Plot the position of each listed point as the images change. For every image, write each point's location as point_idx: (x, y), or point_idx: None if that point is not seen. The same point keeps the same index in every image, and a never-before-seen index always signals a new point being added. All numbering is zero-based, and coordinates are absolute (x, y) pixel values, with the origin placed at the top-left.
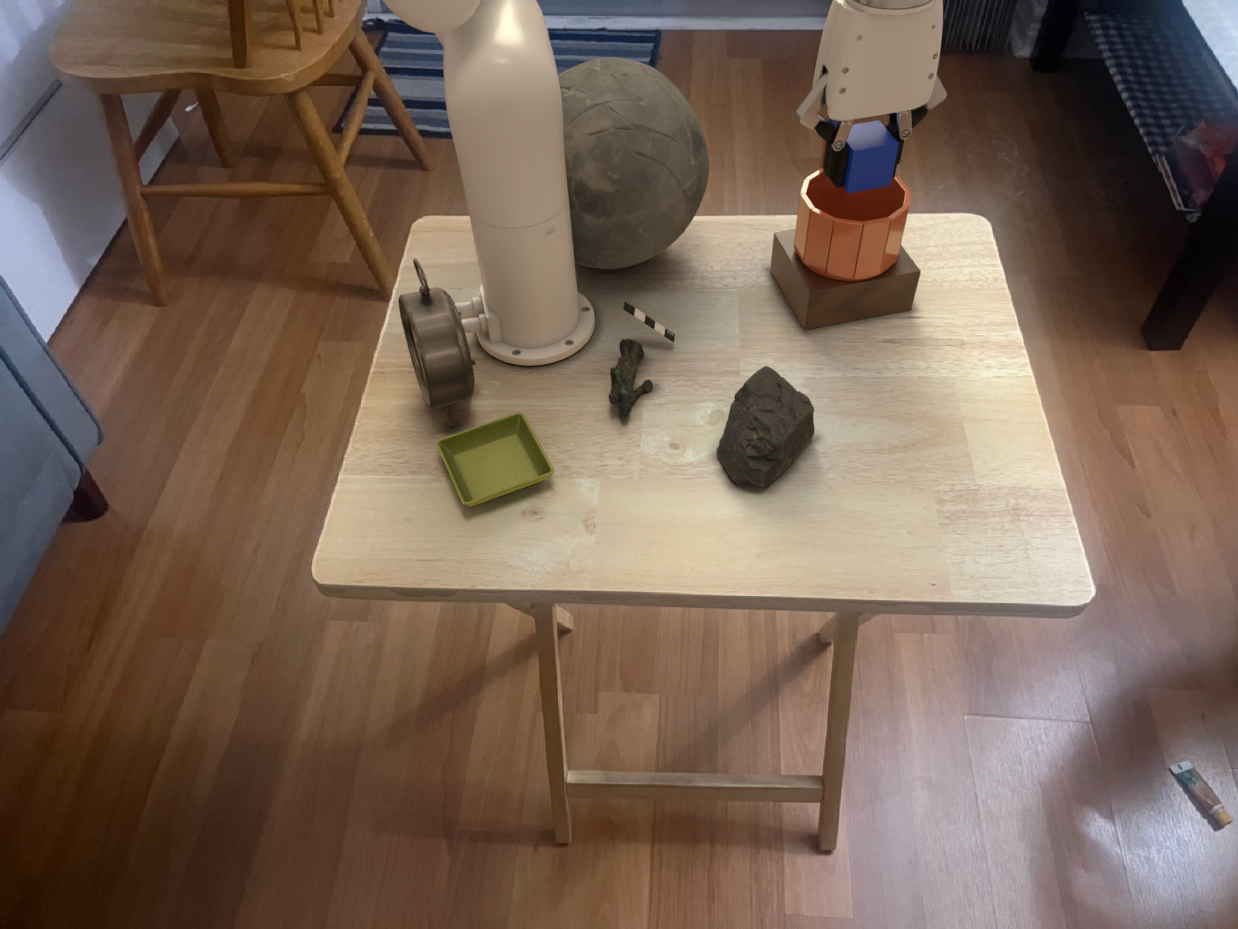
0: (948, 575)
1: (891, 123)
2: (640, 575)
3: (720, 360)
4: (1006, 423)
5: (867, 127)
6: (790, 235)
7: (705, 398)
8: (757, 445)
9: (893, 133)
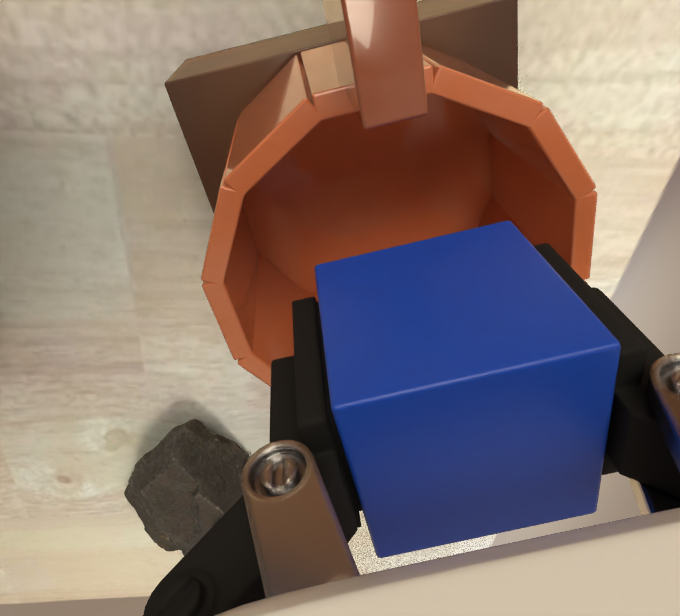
0: (369, 570)
1: (650, 437)
2: (69, 592)
3: (103, 341)
4: None
5: (516, 411)
6: (217, 104)
7: (92, 411)
8: (171, 546)
9: (616, 460)
